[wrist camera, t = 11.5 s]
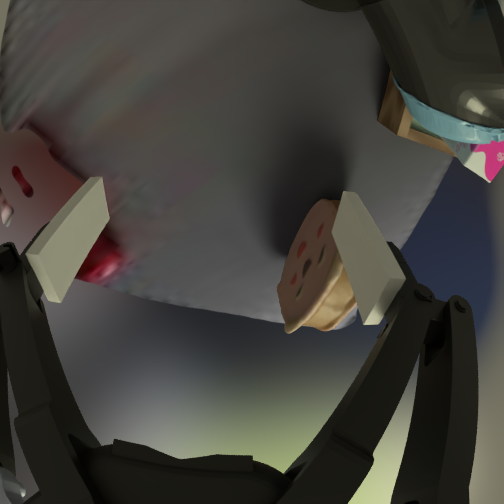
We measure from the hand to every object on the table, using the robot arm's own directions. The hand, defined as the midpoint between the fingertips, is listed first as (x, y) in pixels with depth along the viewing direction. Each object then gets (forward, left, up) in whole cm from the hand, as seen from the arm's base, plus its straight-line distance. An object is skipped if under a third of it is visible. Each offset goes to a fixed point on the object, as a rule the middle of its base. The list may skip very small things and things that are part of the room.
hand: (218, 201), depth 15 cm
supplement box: (-8, +26, -20) cm, 34 cm away
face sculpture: (+20, +15, -27) cm, 37 cm away
